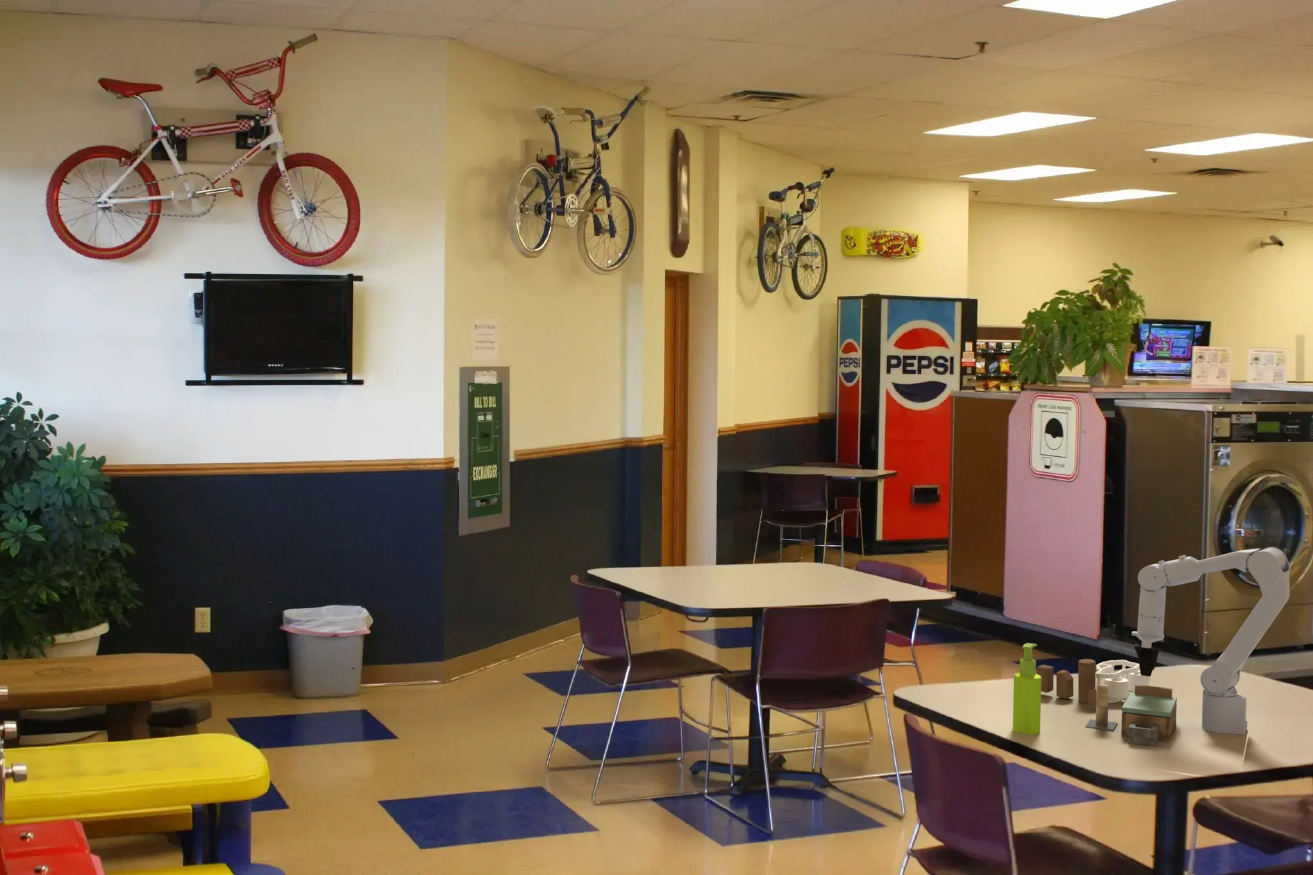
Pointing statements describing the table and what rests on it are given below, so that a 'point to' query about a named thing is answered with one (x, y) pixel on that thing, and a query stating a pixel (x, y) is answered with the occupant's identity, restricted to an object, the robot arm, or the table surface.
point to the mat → (1109, 727)
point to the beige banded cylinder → (1102, 704)
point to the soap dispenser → (1027, 695)
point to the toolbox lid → (1150, 701)
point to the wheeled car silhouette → (1120, 679)
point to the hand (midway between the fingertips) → (1147, 672)
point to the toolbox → (1147, 727)
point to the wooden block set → (1071, 681)
